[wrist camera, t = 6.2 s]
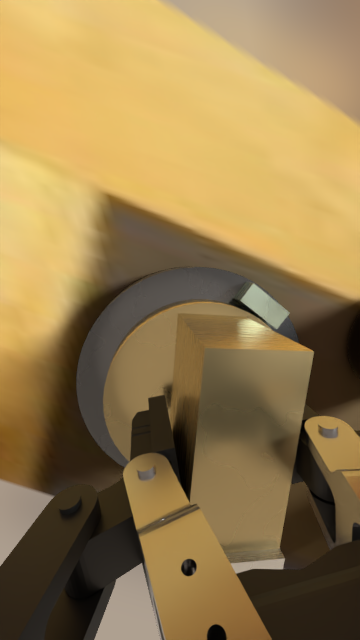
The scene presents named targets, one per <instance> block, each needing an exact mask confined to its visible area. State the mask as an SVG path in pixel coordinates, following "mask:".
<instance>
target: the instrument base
mask: <svg viewBox="0 0 360 640" xmlns="http://www.w3.org/2000/svg"><path fill="white" fill-rule="evenodd" d="M190 299H209V300H216V301H220V302H224V303H228V304H230V305H233V306H235V307H237V308H239V309H242V310H244V311H246V312H248V313H250V314H252V315H254V316H255V317H257V318H259V319H260V320H262V321H263V322H264V323H265V324H266V325H268V326H269V327H270V328H271V329H272V330H273V331H275V332H277V333H279V334H281V335H283V336H285V337H287V338H289V339H291V340H292V341H294V342H296V343H298V344H299V340H298V336H297V334H296V331H295V329H294V326H293V324H292V322H291V320H290V319H289V317H288V315H289V312H288V311H287V310H286V309H285V308H283V307H282V306H281V305H280V304H279V303H278V302H277V301H276V300H275V299H274V298H273V297H272V296H271V295H270V294H269V293H268V292H267V291H266V290H264V289H263V288H261V287H260V286H259V285H257V284H256V283H254V282H252V281H250V280H248V279H246V278H245V277H243V276H240V275H237V274H234V273H232V272H229V271H225V270H220V269H215V268H204V267H178V268H171V269H167V270H162V271H159V272H156V273H153V274H150V275H148V276H146V277H144V278H142V279H140V280H138V281H136V282H134V283H133V284H131V285H130V286H128V287H127V288H126V289H124V290H123V291H122V292H120V293H119V294H118V295H117V296H116V297H115V298H114V299H113V300H112V301H111V302H110V303H109V305H108V306H107V307H106V308H105V309H104V311H103V312H102V313H101V314H100V316H99V317H98V318H97V320H96V322H95V323H94V325H93V326H92V328H91V330H90V331H89V333H88V336H87V338H86V340H85V342H84V345H83V347H82V350H81V354H80V358H79V361H78V368H77V376H76V385H77V397H78V403H79V408H80V411H81V414H82V417H83V420H84V422H85V424H86V426H87V428H88V430H89V432H90V434H91V435H92V437H93V438H94V440H95V441H96V443H97V444H98V445H99V446H100V447H101V448H102V450H103V451H104V452H105V453H106V454H107V455H108V456H110V457H111V458H112V459H113V460H114V461H116V462H117V463H118V464H120V465H121V466H123V467H126V466H127V464H128V463H129V461H128V460H127V459H126V458H125V457H124V456H123V455H122V454H121V452H120V451H119V450H118V448H117V447H116V446H115V444H114V442H113V440H112V438H111V436H110V434H109V431H108V428H107V426H106V422H105V417H104V410H103V395H104V386H105V382H106V378H107V374H108V371H109V367H110V364H111V361H112V358H113V356H114V353H115V351H116V349H117V348H118V346H119V344H120V342H121V341H122V339H123V338H124V337H125V335H126V334H127V333H128V331H129V330H130V329H131V328H132V327H133V326H134V325H135V324H136V323H137V322H139V321H140V320H141V319H143V318H144V317H145V316H147V315H148V314H150V313H152V312H153V311H155V310H157V309H159V308H161V307H163V306H166V305H168V304H171V303H175V302H179V301H183V300H190Z"/></svg>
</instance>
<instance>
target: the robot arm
mask: <svg viewBox="0 0 360 640" xmlns="http://www.w3.org/2000/svg"><path fill="white" fill-rule="evenodd" d="M148 404H149V410H145V411H140V412H137V413H136V415H135V416H134V418H133V419H132V430H131V453H130V462H129V463H128V464H127V466H126V467H125V469H124V472H123V478H122V479H121V480H120V481H118V482H117V483H116V484H114V485H112V486H111V487H109V488H107V489H105V490H103V491H101V492H99V493H97V492H96V490H95V489H94V488H93V487H92V486H90V485H85V484H81V485H75V486H72V487H69V488H67V489H65V490H63V491H62V492H60V493H59V494H57V495H56V496H55V497H54V498H53V499H52V500H51V501H50V502H49V503H48V505H47V506H46V507H45V509H44V510H43V511H42V513H41V514H40V515H39V516H38V518H37V519H36V520H35V522H34V523H33V524H32V526H31V527H30V528H29V530H28V531H27V532H26V534H25V535H24V536H23V537H22V539H21V540H20V541H19V543H18V544H17V546H16V547H15V548H14V549H13V551H12V552H11V553H10V554H9V556H8V557H7V558H6V560H5V561H4V562H3V564H2V565H1V566H0V640H94V638H95V636H96V633H97V631H98V628H99V625H100V623H101V620H102V617H103V615H104V612H105V610H106V607H107V604H108V602H109V599H110V596H111V594H112V591H113V588H114V585H115V582H116V579H117V578H119V577H120V576H122V575H124V574H125V573H126V572H128V571H130V570H131V569H133V568H134V567H136V566H137V565H139V564H140V563H142V565H143V569H144V573H145V578H146V582H147V586H148V590H149V594H150V598H151V602H152V606H153V611H154V615H155V619H156V623H157V627H158V632H159V636H160V640H360V431H354V430H353V429H352V428H351V427H350V426H349V425H348V424H347V423H345V422H344V421H342V420H340V419H337V418H333V417H328V416H319V415H318V414H317V413H316V412H315V411H314V410H312V409H311V408H310V407H309V406H308V405H306V404H305V406H304V412H303V418H302V423H301V429H300V435H299V440H298V446H297V452H296V457H295V463H294V469H293V474H292V480H291V483H292V484H294V483H298V482H302V481H304V482H305V483H306V485H307V495H308V499H309V502H310V504H311V507H312V509H313V511H314V514H315V516H316V518H317V521H318V523H319V525H320V528H321V530H322V532H323V535H324V537H325V539H326V542H327V544H328V546H329V549H330V551H329V552H327V553H326V554H325V555H323V556H322V557H320V558H319V559H317V560H316V561H315V562H313V563H312V564H310V565H309V566H308V567H306V568H304V569H301V570H289V569H251V570H247V571H243V572H240V573H235V571H234V569H233V567H232V566H231V564H230V562H229V560H228V558H227V556H226V555H225V553H224V551H223V549H222V547H221V545H220V544H219V542H218V540H217V538H216V536H215V534H214V533H213V531H212V529H211V527H210V525H209V523H208V522H207V520H206V518H205V516H204V514H203V512H202V511H201V509H200V507H199V506H198V505H197V504H193V505H191V504H190V502H189V500H188V498H187V497H186V495H185V493H184V491H183V489H182V487H181V481H180V475H179V469H178V463H177V456H176V450H175V445H174V440H173V434H172V429H171V424H170V419H169V414H168V409H167V404H166V399H165V395H160V396H155V397H150V398H148Z"/></svg>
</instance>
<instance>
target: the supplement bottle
mask: <svg viewBox="0 0 360 640" xmlns="http://www.w3.org/2000/svg"><path fill="white" fill-rule="evenodd" d="M348 357H349V362H350V365H351V367H352V369H353V371H354V373H355V374H356V376H357V377H358V378H359V379H360V314H359V315H358V317H357V318H356V320H355V322H354V324H353V326H352V328H351V331H350V334H349V339H348Z"/></svg>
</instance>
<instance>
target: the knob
mask: <svg viewBox="0 0 360 640" xmlns="http://www.w3.org/2000/svg"><path fill="white" fill-rule="evenodd" d="M313 355H314V351H312V350H310V349H308V348H306V347H304V346H302V345H300V344H298V343H296V342H294V341H292V340H291V339H289V338H287V337H285V336H283V335H281V334H279V333H277V332H275V331H273V330H272V329H271V328H270V327H269V326H268V325H266V324H265V323H264V322H263V321H262V320H260V319H259V318H257V317H255V316H254V315H252V314H250V313H248V312H246V311H244V310H242V309H239V308H237V307H235V306H233V305H230V304H228V303H224V302H220V301H216V300H209V299H190V300H183V301H179V302H175V303H171V304H168V305H166V306H163V307H161V308H159V309H157V310H155V311H153V312H152V313H150V314H148V315H147V316H145V317H144V318H143V319H141V320H140V321H139V322H137V323H136V324H135V325H134V326H133V327H132V328H131V329H130V330H129V331H128V333H127V334H126V335H125V337H124V338H123V339H122V341H121V342H120V344H119V346H118V348H117V349H116V351H115V353H114V356H113V358H112V361H111V364H110V367H109V371H108V374H107V378H106V382H105V386H104V395H103V410H104V417H105V422H106V426H107V428H108V431H109V434H110V436H111V438H112V440H113V442H114V444H115V446H116V447H117V448H118V450H119V451H120V452H121V454H122V455H123V456H124V457H125V458H126V459H127V460H128V461H129V462H130V453H131V430H132V419H133V418H134V416H135V415H136V413H137V412H140V411H145V410H149V404H148V398H150V397H155V396H160V395H165V399H166V404H167V409H168V414H169V419H170V424H171V429H172V434H173V440H174V445H175V450H176V456H177V463H178V469H179V475H180V481H181V487H182V489H183V491H184V493H185V495H186V497H187V498H188V500H189V502H190V504H191V505H193V504H197V505H198V506H199V507H200V509H201V511H202V512H203V514H204V516H205V518H206V520H207V522H208V523H209V525H210V527H211V529H212V531H213V533H214V534H215V536H216V538H217V540H218V542H219V544H220V545H221V547H222V549H223V551H224V553H225V555H226V556H227V558H228V560H229V562H230V564H231V566H232V567H233V569H234V571H235V573H240V572H243V571H247V570H251V569H283V566H284V561H285V558H284V556H283V554H282V552H281V549H280V542H281V537H282V531H283V525H284V520H285V514H286V508H287V503H288V497H289V491H290V486H291V480H292V474H293V469H294V463H295V457H296V452H297V446H298V440H299V435H300V429H301V423H302V418H303V412H304V406H305V401H306V395H307V389H308V384H309V378H310V372H311V367H312V361H313Z"/></svg>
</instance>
